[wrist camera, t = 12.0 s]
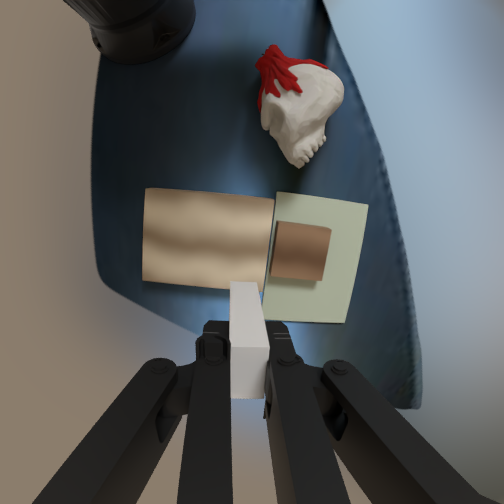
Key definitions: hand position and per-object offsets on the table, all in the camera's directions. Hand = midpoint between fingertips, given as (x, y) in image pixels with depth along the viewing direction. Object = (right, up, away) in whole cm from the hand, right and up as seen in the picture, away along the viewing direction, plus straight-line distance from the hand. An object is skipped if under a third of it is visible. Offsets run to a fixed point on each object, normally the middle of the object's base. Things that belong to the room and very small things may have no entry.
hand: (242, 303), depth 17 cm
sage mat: (+9, +2, +24) cm, 26 cm away
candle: (+6, +22, +18) cm, 30 cm away
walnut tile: (+7, +3, +23) cm, 24 cm away
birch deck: (-5, +5, +22) cm, 23 cm away
